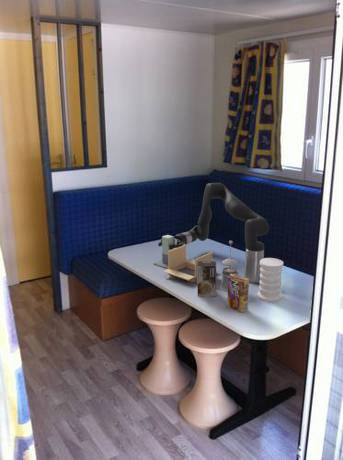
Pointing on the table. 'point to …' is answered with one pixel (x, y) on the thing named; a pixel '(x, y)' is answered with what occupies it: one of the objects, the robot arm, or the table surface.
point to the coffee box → (206, 278)
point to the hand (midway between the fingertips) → (164, 246)
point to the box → (166, 247)
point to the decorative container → (270, 280)
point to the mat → (161, 264)
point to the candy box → (238, 292)
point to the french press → (228, 271)
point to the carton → (184, 263)
